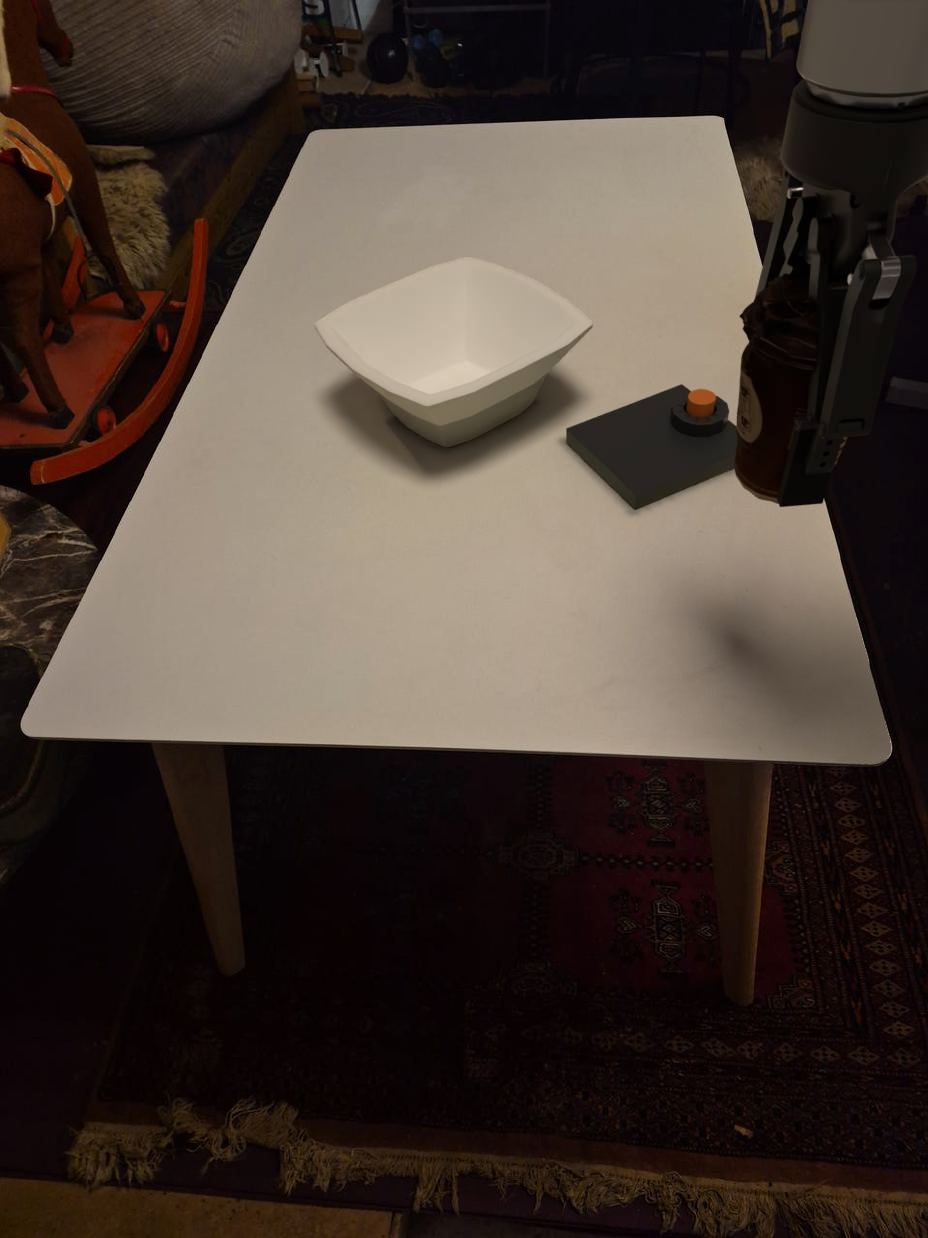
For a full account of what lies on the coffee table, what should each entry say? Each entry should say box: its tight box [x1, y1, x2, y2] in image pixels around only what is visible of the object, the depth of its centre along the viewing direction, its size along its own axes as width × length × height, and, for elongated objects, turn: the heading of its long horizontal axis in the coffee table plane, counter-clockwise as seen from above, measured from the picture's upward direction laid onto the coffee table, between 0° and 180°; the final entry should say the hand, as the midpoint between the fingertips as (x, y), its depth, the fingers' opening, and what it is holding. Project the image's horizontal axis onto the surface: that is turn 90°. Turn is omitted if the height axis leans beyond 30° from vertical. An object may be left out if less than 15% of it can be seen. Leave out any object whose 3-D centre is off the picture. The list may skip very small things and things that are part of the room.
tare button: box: [686, 388, 717, 418], centre depth 89 cm, size 3×3×2 cm
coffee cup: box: [733, 273, 893, 505], centre depth 54 cm, size 9×8×13 cm
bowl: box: [313, 255, 594, 448], centre depth 96 cm, size 24×25×10 cm
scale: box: [565, 384, 737, 510], centre depth 89 cm, size 15×13×4 cm
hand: (781, 461), depth 58 cm, fingers closed on coffee cup, 8 cm apart
